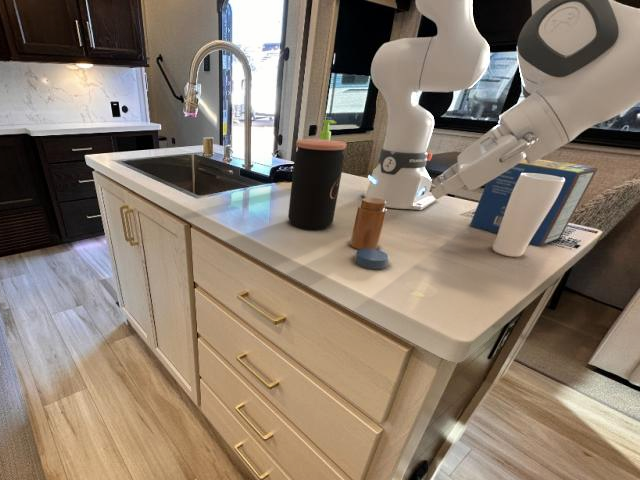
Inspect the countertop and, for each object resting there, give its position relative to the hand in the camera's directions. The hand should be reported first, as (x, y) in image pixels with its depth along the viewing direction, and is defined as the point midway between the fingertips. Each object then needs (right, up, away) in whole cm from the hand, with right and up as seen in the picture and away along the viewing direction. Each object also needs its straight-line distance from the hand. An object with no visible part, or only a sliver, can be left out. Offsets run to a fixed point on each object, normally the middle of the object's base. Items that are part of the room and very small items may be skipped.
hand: (434, 189), depth 60 cm
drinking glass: (+20, -10, +10) cm, 24 cm away
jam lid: (-10, -12, +3) cm, 16 cm away
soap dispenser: (-7, +20, +58) cm, 62 cm away
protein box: (+30, -4, +21) cm, 37 cm away
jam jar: (-9, -8, +11) cm, 16 cm away
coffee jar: (-18, -1, +22) cm, 28 cm away
